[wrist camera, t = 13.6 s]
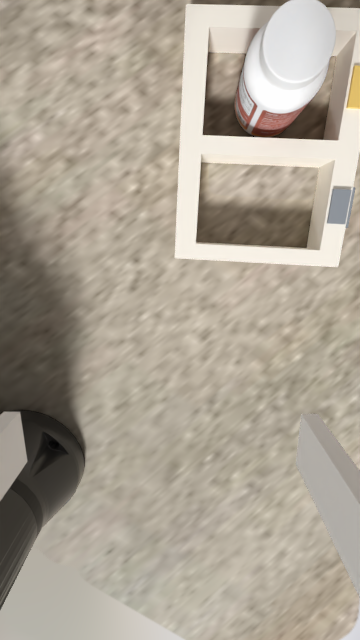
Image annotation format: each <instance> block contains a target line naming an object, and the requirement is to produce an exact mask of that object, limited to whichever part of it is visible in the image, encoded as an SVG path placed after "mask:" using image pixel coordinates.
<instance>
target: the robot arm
mask: <svg viewBox="0 0 360 640" xmlns="http://www.w3.org/2000/svg"><path fill="white" fill-rule="evenodd" d="M296 466H297V468H298V470H299V472H300V474H301V476H302V478H303V480H304V482H305V484H306V487H307V489H308V491H309V493H310V495H311V497H312V499H313V501H314V503H315V505H316V507H317V510H318V512H319V514H320V516H321V518H322V520H323V522H324V524H325V526H326V528H327V530H328V533H329V535H330V537H331V539H332V541H333V543H334V545H335V547H336V549H337V551H338V553H339V556H340V558H341V560H342V562H343V564H344V566H345V568H346V570H347V572H348V574H349V576H350V578H351V581H352V583H353V585H354V587H355V589H356V591H357V593H358V595H359V597H360V470H359V469H358V468H357V466H356V465H355V464H354V462H353V461H352V459H351V458H350V457H349V455H348V454H347V453H346V451H345V450H344V449H343V447H342V446H341V444H340V443H339V442H338V440H337V439H336V438H335V436H334V435H333V434H332V432H331V431H330V429H329V428H328V427H327V425H326V424H325V423H324V421H323V420H322V419H321V417H320V416H319V415H318V414H301V422H300V431H299V440H298V449H297V458H296ZM83 472H84V457H83V453H82V450H81V447H80V445H79V443H78V442H77V440H76V438H75V437H74V436H73V435H72V433H71V432H70V431H69V430H68V429H67V428H66V427H65V426H63V425H62V424H61V423H59V422H58V421H56V420H54V419H53V418H51V417H48V416H46V415H44V414H41V413H37V412H32V411H23V410H19V411H10V412H3V413H2V414H0V609H1V607H2V605H3V604H4V602H5V599H6V597H7V596H8V594H9V592H10V589H11V588H12V586H13V584H14V582H15V579H16V578H17V576H18V574H19V572H20V570H21V567H22V566H23V564H24V561H25V559H26V558H27V556H28V553H29V552H30V550H31V548H32V546H33V544H34V542H35V540H36V538H37V536H38V534H39V532H40V530H41V528H42V527H43V526H44V525H45V524H46V523H47V522H48V521H49V520H50V519H51V518H52V517H53V516H54V515H55V514H56V513H57V512H58V511H59V510H60V509H61V508H62V507H63V506H64V505H65V504H66V503H67V502H68V501H69V500H70V499H71V497H72V496H73V495H74V493H75V491H76V489H77V487H78V485H79V483H80V481H81V478H82V476H83Z"/></svg>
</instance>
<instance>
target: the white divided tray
mask: <svg viewBox="0 0 360 640" xmlns="http://www.w3.org/2000/svg"><path fill="white" fill-rule="evenodd" d="M279 7H280V6H251V5H210V4H186V16H185V38H184V61H183V83H182V106H181V128H180V151H179V174H178V196H177V219H176V241H175V258H182V259H200V260H219V261H237V262H255V263H273V264H291V265H309V266H327V267H338V265H339V260H340V254H341V249H342V243H343V238H344V233H345V228H348V224H349V219H350V214H351V208H352V203H353V198H354V193H355V187H353V184H354V179H355V174H356V168H357V163H358V158H359V152H360V8H332V7H327V8H328V10H329V11H330V13H331V15H332V17H333V20H334V23H335V28H336V41H335V46H334V50H333V53H332V56H336V62H335V68H334V75H333V81H332V88H331V94H330V101H329V107H328V113H327V120H326V126H325V133H324V139H323V140H311V139H286V138H261V137H237V136H212V135H203V121H204V105H205V89H206V73H207V56H208V52H213V53H246V54H247V51H248V48H249V45H250V43H251V41H252V39H253V38H254V36H255V35H256V33H257V32H258V31H259V29H260V28H261V27H262V26H263V25H264V24H265V23H267V22H268V21H269V20H270V18H271V17H272V15H273V14H274V13H275V11H276V10H277V9H278V8H279ZM201 162H207V163H230V164H253V165H276V166H299V167H319V171H318V177H317V184H316V190H315V197H314V203H313V209H312V216H311V222H310V229H309V235H308V241H307V248H300V247H281V246H262V245H243V244H224V243H206V242H196V235H197V218H198V202H199V186H200V170H201Z"/></svg>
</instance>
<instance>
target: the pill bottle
mask: <svg viewBox="0 0 360 640" xmlns="http://www.w3.org/2000/svg"><path fill="white" fill-rule="evenodd" d="M335 41H336V28H335V23H334V20H333V17H332V15H331V13H330V11H329V10H328V8H327V7H326V6H325V5H324V4H323V3H321V2H320V1H318V0H290V1H288V2H286V3H284V4H283V5H282V6H280V7H279V8H278V9H277V10H276V11H275V13H274V14H273V15H272V17H271V18H270V20H269V21H268V22H267V23H265V24H264V25H263V26H262V27H261V28H260V29H259V31H258V32H257V33H256V35H255V36H254V38H253V39H252V41H251V43H250V45H249V48H248V51H247V54H246V58H245V61H244V66H243V69H242V73H241V77H240V81H239V85H238V88H237V92H236V97H235V113H236V117H237V119H238V122H239V123H240V125H241V127H242V128H243V129H244V130H245V131H246V132H248V133H249V134H251V135H253V136H256V137H261V138H268V137H273V136H275V135H278V134H280V133H281V132H283V131H284V130H285V129H286V128H288V127H289V126H290V125H291V123H292V122H293V121H294V120H295V119H296V117H297V116H298V115H299V114H300V113H301V112H302V110H303V109H304V108H305V107H306V106H307V105H308V103H309V102H310V101H311V100H312V99H313V97H314V96H315V95H316V94H317V92H318V90H319V89H320V87H321V86H322V84H323V82H324V80H325V77H326V74H327V71H328V66H329V60H330V58H331V56H332V53H333V50H334V46H335Z"/></svg>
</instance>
